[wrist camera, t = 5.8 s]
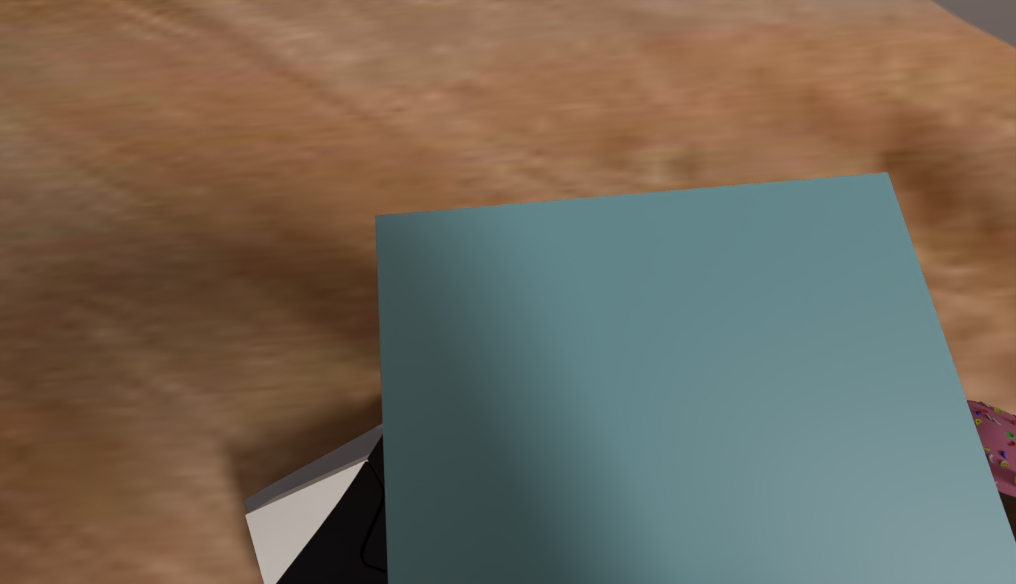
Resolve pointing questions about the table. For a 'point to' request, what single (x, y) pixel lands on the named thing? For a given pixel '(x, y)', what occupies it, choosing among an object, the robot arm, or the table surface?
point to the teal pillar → (677, 395)
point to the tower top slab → (296, 519)
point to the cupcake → (997, 443)
